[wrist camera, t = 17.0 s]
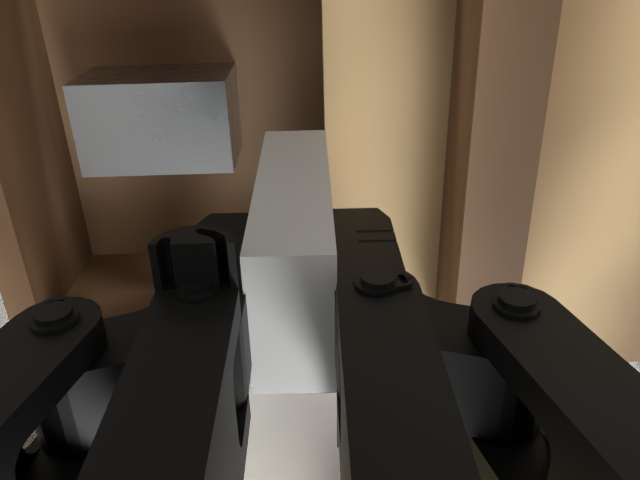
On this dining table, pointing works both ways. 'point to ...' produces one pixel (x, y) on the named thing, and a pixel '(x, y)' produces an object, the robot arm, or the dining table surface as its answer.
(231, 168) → the steel block
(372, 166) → the lid
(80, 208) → the open wooden box
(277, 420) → the dining table surface
